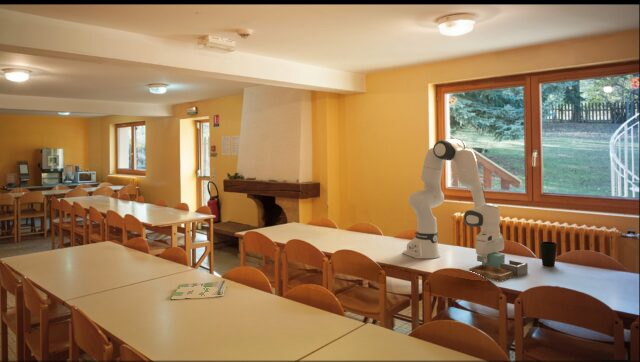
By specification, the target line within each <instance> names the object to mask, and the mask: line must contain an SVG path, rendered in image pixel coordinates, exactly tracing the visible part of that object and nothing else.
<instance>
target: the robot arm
mask: <svg viewBox="0 0 640 362" xmlns="http://www.w3.org/2000/svg"><path fill="white" fill-rule="evenodd" d="M446 161H448V162H449V161H453V163H454V165H455V170H456V176H457V180H458V182H459V184H460V185H462V186H463V187H465V188H467V189H468V190H469V191H470V193H471V196H472V197H471V198H472V200H473V205H474V207H473V208H471V209H468V210H466V211H465V212H464V213H463V222H464V224H465V225H466V226H467V227H471V228H479V227H480V228H481V231H480V232H479V233H478V234H476V235H475V240H476V241H475V242H476V243H475V253H476V256H477V255H481V256H483V258H484V262H485V263H487V262H489V259H488V258H487V256H488V254H491V253H494V252H496V253H499V252H500V251H504V249H505V239H504V237H503V234H502V233H501V228H500V227H501V226H500V223H501V213H500V208H499V206H498V205H496V204H493V203H487V199H486V196H485V192H484V187H483V184H482V181H481V177H480V171H479V167H478V165H479V164H478V162H477V158H476V155H475V151H473V150H472V149H470V148H467V144H466V142H465V141H463V140H461V139H459V138H448V139H440V140H438V141H437V142H436V143H435V144H434V145H433V147H430V148H429V149H428V150H427V152H426V155H425V156H424V161H423V165H422V171H421V176H420V180H421V181H422V182H423V187H424V188H423V189H422V190H421V189H420V190H417V191H415V192H413V193H411V194H410V195H409V197H408V204H409V206H410V207H411V209H413V211H414V213H415V216H416V221H417V222H416V225H417V227H416V228H417V231H416V232H414V233H413V235H415V236H414V238H412V239H411V240H410V241H408V242H407V244H406V249H405V250H403V251H402V254H404V255H406V256H409V257H411V258H415V259H436V258H440V257H441V254H440V250H439V244H438V237H439V235H438V234H439V233H438V227H437V226H438V220H437V217H436V216H434V214H433V211H432V209H433V208H437V207H439V206H441V205H442V204H443V203H444V202H445V194H444V192H443V190H442V186H441V185H442V184H441V181H442V175H443V170H444V164H445V162H446Z"/></svg>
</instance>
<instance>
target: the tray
mask: <svg viewBox="0 0 640 362" xmlns="http://www.w3.org/2000/svg"><path fill="white" fill-rule="evenodd" d="M468 270H469V271H472V272H475V273H477V274H480V275H482V276H484V277H483V278H486V277H487V279H490V278H491V280H493V279H494V281H497V280H498V281H497V282H502V280H503V281H505V279H506V280H508V279H511V278H513V276H514V272H513V271H509V270H504V269H500V268H496V267H491V266H487V265H483V264H482V263H481V264H480V265H475V266H472V267H470V268H468ZM482 276H481V277H482ZM510 277H511V278H510ZM514 277H515V276H514Z"/></svg>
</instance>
